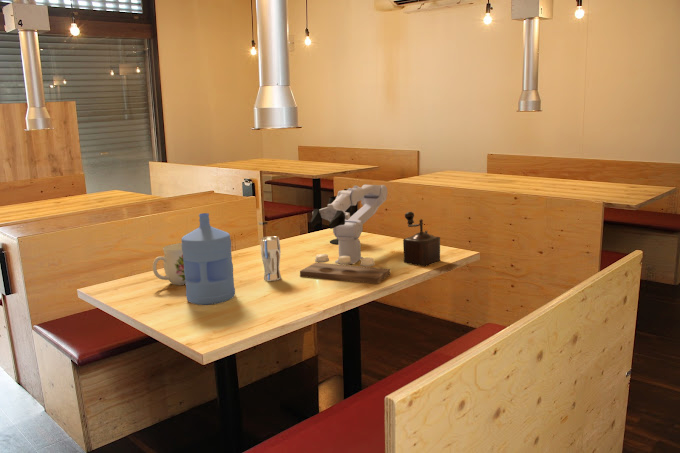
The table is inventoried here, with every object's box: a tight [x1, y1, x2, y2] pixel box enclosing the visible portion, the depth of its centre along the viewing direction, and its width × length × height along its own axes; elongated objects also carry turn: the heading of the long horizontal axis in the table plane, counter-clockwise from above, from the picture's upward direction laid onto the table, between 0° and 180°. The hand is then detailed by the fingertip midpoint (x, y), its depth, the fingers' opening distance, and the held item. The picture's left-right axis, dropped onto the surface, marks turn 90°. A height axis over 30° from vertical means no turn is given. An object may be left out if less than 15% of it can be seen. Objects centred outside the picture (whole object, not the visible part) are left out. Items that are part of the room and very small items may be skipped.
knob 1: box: [314, 253, 330, 263], centre depth 224 cm, size 5×5×2 cm
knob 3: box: [359, 257, 375, 267], centre depth 216 cm, size 5×5×2 cm
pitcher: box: [152, 242, 186, 286], centre depth 219 cm, size 11×18×14 cm, turn 132°
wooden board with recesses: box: [299, 262, 391, 285], centre depth 221 cm, size 12×30×2 cm, turn 64°
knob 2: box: [336, 256, 351, 265], centre depth 220 cm, size 5×5×2 cm
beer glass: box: [260, 235, 282, 282], centre depth 219 cm, size 7×7×15 cm
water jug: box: [181, 212, 236, 306], centre depth 199 cm, size 16×16×28 cm
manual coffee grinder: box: [402, 211, 441, 267], centre depth 235 cm, size 16×11×18 cm
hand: (320, 225), depth 218 cm, fingers open, 7 cm apart
